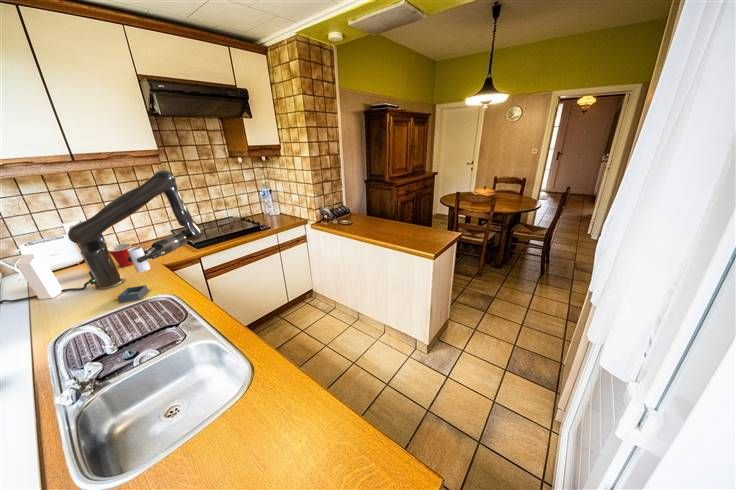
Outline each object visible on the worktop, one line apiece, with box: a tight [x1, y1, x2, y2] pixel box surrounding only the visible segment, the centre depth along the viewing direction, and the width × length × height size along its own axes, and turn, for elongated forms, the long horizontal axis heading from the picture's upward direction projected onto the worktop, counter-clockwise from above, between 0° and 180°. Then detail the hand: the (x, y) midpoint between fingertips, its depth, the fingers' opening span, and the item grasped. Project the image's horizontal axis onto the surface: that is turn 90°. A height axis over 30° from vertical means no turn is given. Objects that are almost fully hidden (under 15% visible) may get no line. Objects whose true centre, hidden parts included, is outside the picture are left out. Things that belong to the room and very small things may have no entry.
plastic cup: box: [107, 242, 133, 268], centre depth 155 cm, size 11×11×12 cm
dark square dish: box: [117, 284, 149, 303], centre depth 124 cm, size 8×8×3 cm
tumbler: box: [127, 245, 151, 273], centre depth 123 cm, size 5×5×11 cm
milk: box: [16, 253, 63, 300], centre depth 125 cm, size 6×6×22 cm
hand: (133, 260), depth 120 cm, fingers closed on tumbler, 5 cm apart
